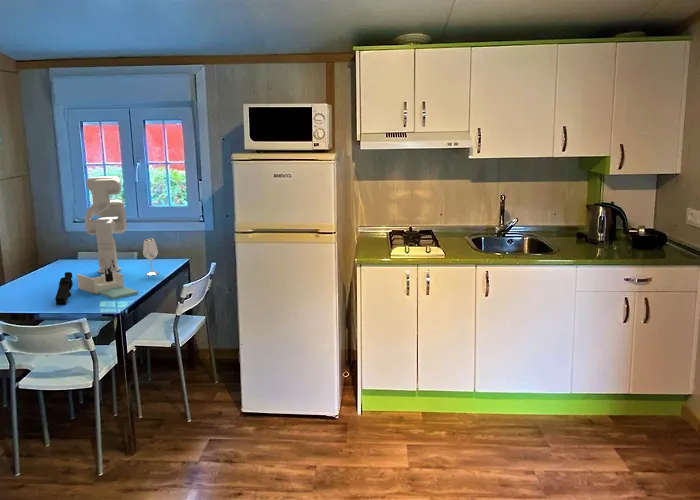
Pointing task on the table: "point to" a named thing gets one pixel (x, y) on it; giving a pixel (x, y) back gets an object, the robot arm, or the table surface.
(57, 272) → the table surface
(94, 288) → the box
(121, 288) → the lid
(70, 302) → the table surface
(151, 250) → the wineglass
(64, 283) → the toy gun
